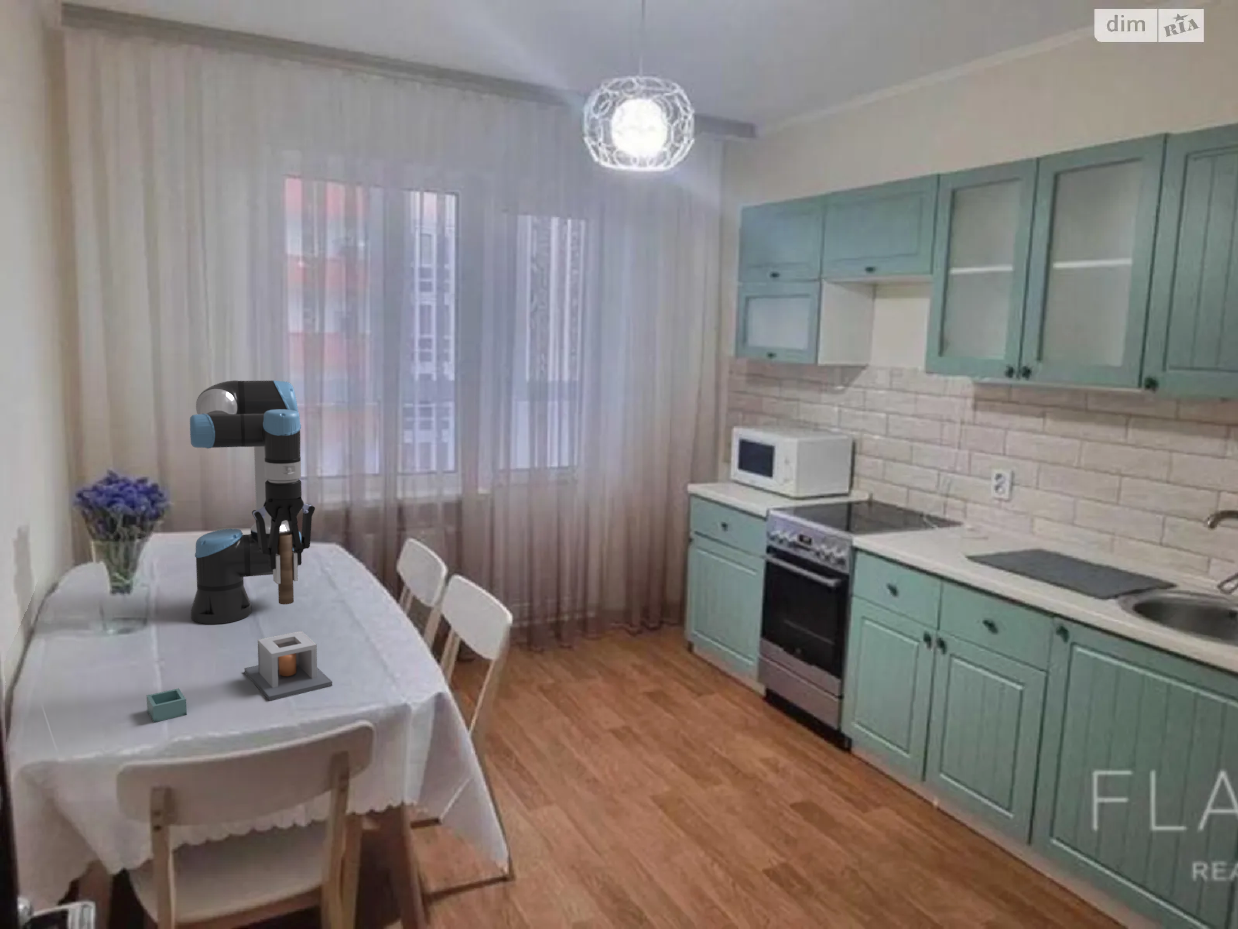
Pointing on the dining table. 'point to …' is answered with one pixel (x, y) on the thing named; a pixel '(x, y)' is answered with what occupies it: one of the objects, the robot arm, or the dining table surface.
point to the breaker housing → (268, 666)
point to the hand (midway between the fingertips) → (285, 580)
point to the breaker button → (287, 665)
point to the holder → (166, 705)
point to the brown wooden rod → (285, 568)
